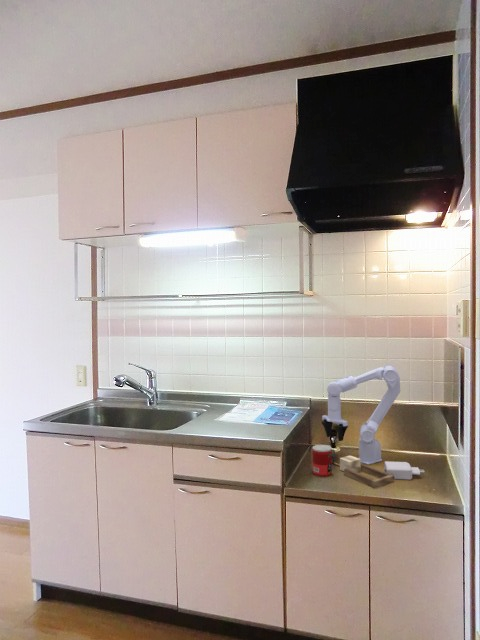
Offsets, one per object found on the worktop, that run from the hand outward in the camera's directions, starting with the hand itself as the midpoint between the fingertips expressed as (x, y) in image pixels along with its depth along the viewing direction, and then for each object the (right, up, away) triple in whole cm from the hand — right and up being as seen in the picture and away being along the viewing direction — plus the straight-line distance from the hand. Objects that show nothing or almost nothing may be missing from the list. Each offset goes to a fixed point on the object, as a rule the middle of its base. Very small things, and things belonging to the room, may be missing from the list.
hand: (334, 438), depth 212 cm
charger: (+24, -10, -21) cm, 34 cm away
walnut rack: (+8, -10, -23) cm, 26 cm away
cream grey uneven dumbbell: (+1, -10, -11) cm, 14 cm away
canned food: (-9, -11, -17) cm, 21 cm away
